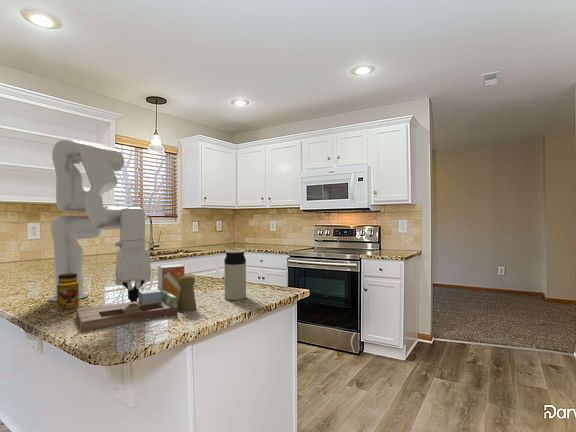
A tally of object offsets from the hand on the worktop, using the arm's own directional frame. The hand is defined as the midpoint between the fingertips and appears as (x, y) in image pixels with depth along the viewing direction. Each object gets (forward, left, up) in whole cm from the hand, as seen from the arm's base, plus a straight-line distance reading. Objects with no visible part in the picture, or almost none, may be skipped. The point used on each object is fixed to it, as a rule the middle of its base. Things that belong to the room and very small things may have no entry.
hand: (133, 301), depth 115 cm
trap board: (+4, -3, -3) cm, 6 cm away
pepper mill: (+7, +15, -4) cm, 17 cm away
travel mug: (+3, +35, -4) cm, 36 cm away
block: (0, +5, -1) cm, 5 cm away
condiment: (-16, -18, -4) cm, 24 cm away
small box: (-7, +14, -4) cm, 16 cm away
